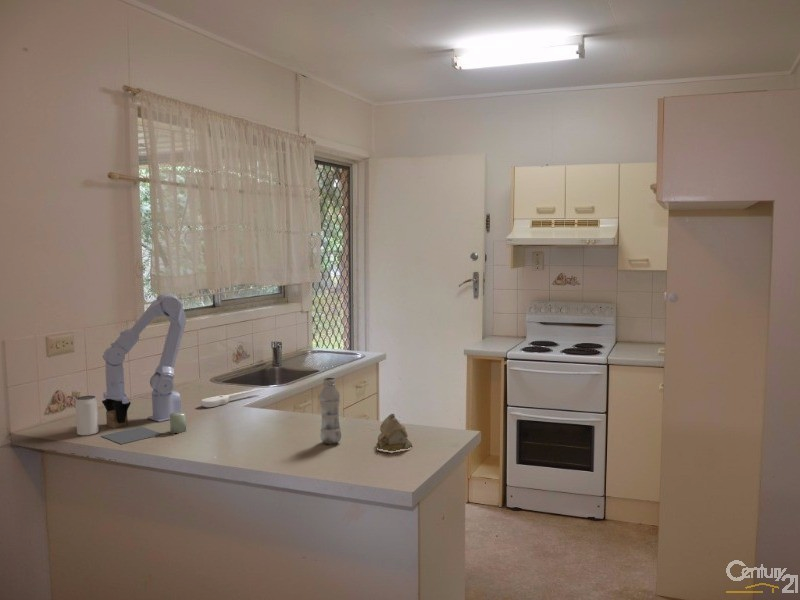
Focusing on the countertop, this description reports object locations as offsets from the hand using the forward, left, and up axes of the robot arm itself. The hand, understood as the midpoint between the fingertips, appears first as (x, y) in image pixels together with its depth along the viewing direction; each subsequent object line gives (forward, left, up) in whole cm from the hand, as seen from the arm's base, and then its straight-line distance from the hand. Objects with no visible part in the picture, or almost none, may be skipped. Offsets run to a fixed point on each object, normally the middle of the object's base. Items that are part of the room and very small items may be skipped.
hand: (117, 421), depth 236 cm
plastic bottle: (-32, +73, -2) cm, 80 cm away
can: (+11, +2, -2) cm, 11 cm away
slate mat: (+3, +16, -1) cm, 16 cm away
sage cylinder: (-9, +24, -2) cm, 26 cm away
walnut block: (0, 0, -2) cm, 2 cm away
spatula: (-46, +2, -2) cm, 46 cm away
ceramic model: (-42, +90, -2) cm, 99 cm away
